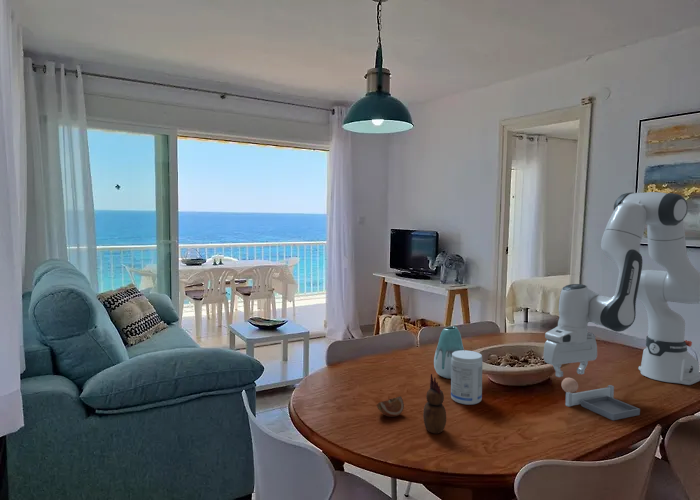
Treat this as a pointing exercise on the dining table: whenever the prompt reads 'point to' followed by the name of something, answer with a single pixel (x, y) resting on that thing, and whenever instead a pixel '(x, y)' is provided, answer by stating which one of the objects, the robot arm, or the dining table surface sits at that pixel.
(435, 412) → the wooden figurine
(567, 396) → the wall
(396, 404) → the fruit slice
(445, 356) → the vase
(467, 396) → the supplement tub
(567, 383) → the ball
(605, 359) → the dining table surface
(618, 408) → the dish
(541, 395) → the dining table surface
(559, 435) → the dining table surface
